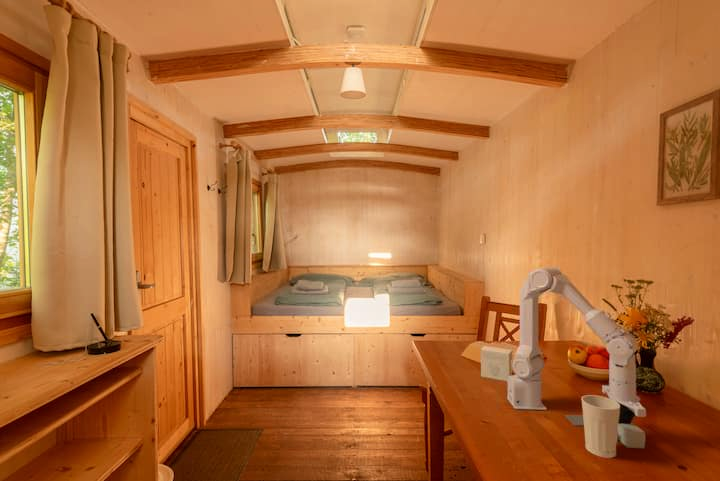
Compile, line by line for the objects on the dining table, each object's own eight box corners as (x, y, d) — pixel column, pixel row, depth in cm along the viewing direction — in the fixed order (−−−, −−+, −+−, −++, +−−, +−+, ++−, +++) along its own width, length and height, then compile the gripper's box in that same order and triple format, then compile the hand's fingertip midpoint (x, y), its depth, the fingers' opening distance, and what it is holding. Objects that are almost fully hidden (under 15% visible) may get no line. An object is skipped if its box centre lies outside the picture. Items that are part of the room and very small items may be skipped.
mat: (574, 425, 101) (574, 424, 101) (564, 416, 107) (564, 414, 107) (595, 426, 101) (595, 425, 101) (584, 416, 106) (584, 415, 106)
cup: (574, 442, 93) (574, 395, 93) (603, 440, 94) (603, 394, 94) (597, 460, 85) (597, 410, 85) (628, 459, 86) (628, 408, 86)
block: (627, 447, 90) (627, 431, 90) (617, 438, 94) (617, 423, 94) (644, 448, 90) (644, 432, 90) (633, 439, 94) (633, 424, 94)
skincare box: (512, 376, 137) (512, 349, 137) (509, 382, 132) (509, 353, 132) (484, 371, 143) (484, 344, 143) (480, 376, 138) (480, 349, 138)
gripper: (658, 391, 88) (659, 447, 88) (620, 370, 102) (620, 417, 103) (628, 390, 89) (628, 446, 89) (594, 369, 103) (594, 417, 103)
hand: (622, 430), depth 96 cm, fingers closed
